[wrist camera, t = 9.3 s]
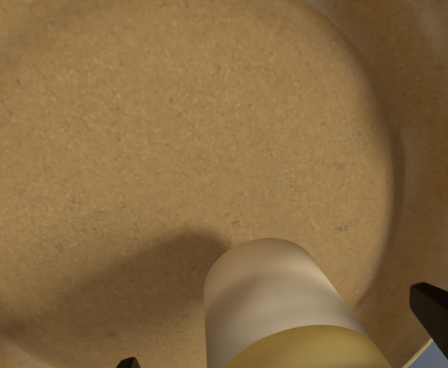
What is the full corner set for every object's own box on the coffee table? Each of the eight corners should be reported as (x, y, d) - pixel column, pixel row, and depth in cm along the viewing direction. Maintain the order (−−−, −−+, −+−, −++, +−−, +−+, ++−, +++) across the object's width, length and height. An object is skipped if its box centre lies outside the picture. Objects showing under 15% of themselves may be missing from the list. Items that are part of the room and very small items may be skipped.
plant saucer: (498, 241, 15) (580, 281, 11) (179, 451, 18) (176, 527, 14) (236, -337, 7) (271, -698, 4) (-249, 214, 10) (-451, 269, 7)
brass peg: (323, 317, 10) (408, 463, 6) (218, 345, 10) (234, 513, 6) (312, 224, 9) (415, 335, 5) (189, 256, 9) (186, 398, 5)
